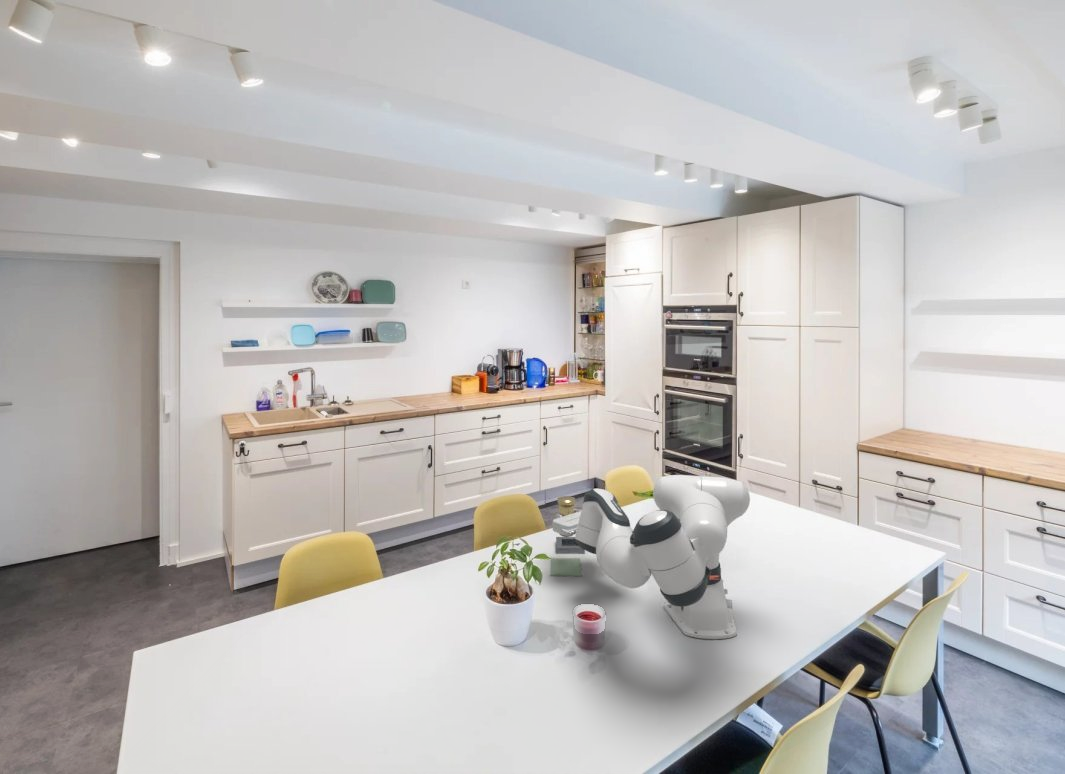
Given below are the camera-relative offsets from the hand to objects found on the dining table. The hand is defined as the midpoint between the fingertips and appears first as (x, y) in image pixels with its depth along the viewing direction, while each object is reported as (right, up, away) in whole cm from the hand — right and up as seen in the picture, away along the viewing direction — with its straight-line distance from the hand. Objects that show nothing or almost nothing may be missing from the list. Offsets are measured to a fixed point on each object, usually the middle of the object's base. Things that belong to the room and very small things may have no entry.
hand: (564, 513), depth 184 cm
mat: (0, -18, -2) cm, 18 cm away
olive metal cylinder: (+1, -7, 0) cm, 7 cm away
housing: (+3, -16, +13) cm, 21 cm away
